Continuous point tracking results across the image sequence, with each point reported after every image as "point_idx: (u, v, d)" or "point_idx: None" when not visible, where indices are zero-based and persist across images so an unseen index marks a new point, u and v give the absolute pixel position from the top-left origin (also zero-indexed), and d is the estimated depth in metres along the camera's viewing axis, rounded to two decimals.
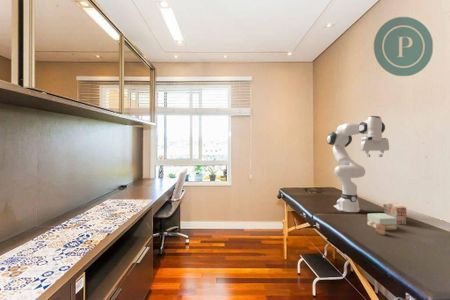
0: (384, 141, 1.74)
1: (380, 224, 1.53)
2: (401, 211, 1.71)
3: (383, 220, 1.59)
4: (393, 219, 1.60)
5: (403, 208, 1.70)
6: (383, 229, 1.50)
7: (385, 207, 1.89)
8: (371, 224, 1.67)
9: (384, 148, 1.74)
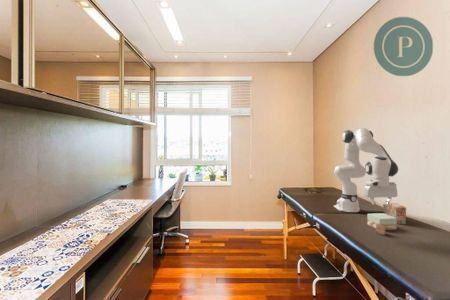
0: (392, 186, 1.51)
1: (380, 224, 1.53)
2: (401, 211, 1.71)
3: (383, 220, 1.59)
4: (393, 219, 1.60)
5: (403, 208, 1.71)
6: (383, 229, 1.50)
7: (385, 207, 1.89)
8: (371, 224, 1.67)
9: (392, 194, 1.51)
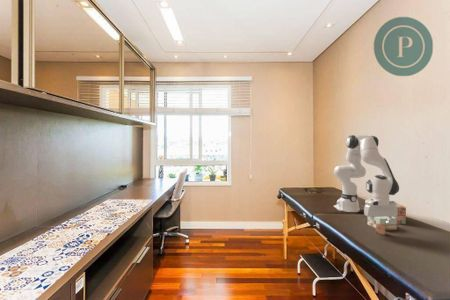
0: (392, 205, 1.51)
1: (380, 224, 1.52)
2: (401, 211, 1.71)
3: (383, 220, 1.59)
4: (393, 219, 1.60)
5: (403, 208, 1.71)
6: (383, 229, 1.50)
7: None
8: (371, 224, 1.67)
9: (392, 214, 1.51)
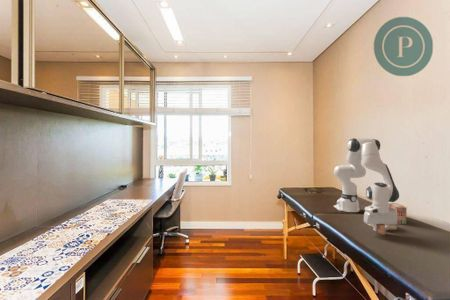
0: (391, 213, 1.51)
1: (380, 224, 1.52)
2: (402, 211, 1.71)
3: None
4: None
5: (403, 208, 1.71)
6: (383, 229, 1.50)
7: None
8: (371, 224, 1.67)
9: (391, 221, 1.51)
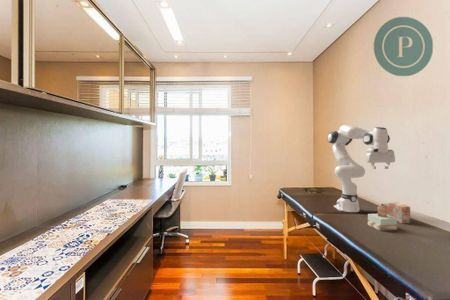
0: (390, 153, 1.72)
1: (382, 207, 1.65)
2: (406, 211, 1.72)
3: (384, 220, 1.59)
4: (394, 220, 1.59)
5: (407, 207, 1.72)
6: (384, 211, 1.63)
7: None
8: (371, 224, 1.66)
9: (390, 160, 1.72)
